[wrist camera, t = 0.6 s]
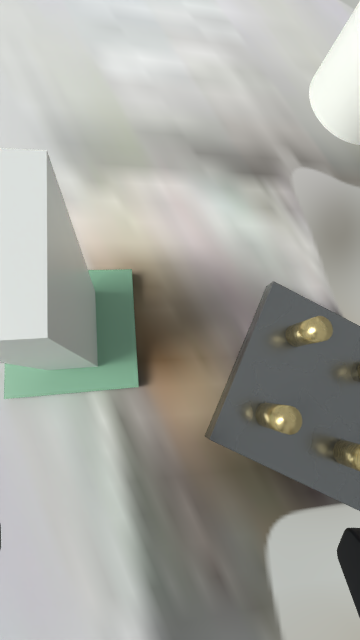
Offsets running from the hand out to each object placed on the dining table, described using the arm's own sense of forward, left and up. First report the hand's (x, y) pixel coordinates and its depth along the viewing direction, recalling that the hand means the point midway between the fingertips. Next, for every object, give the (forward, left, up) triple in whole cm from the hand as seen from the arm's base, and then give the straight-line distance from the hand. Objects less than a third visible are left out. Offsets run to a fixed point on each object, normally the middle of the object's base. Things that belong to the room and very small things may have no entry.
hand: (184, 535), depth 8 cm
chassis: (+8, -9, -13) cm, 18 cm away
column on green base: (+4, +8, -13) cm, 16 cm away
